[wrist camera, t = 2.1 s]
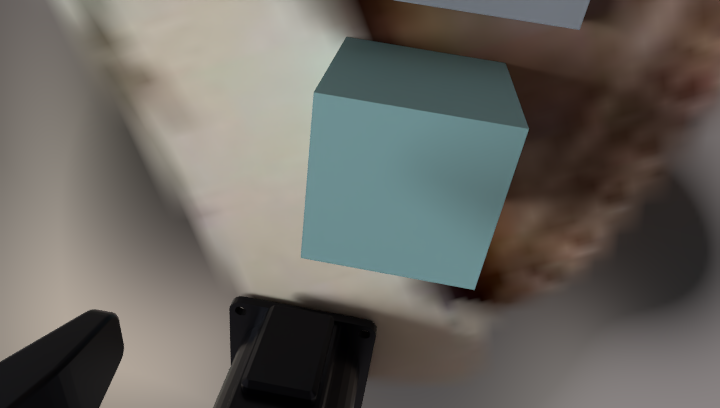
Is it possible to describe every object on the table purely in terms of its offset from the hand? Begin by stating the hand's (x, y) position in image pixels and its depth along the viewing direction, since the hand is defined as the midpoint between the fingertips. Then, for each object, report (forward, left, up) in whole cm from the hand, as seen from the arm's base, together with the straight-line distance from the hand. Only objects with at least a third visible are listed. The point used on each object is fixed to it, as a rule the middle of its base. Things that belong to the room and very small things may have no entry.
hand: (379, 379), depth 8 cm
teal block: (0, 0, -11) cm, 11 cm away
